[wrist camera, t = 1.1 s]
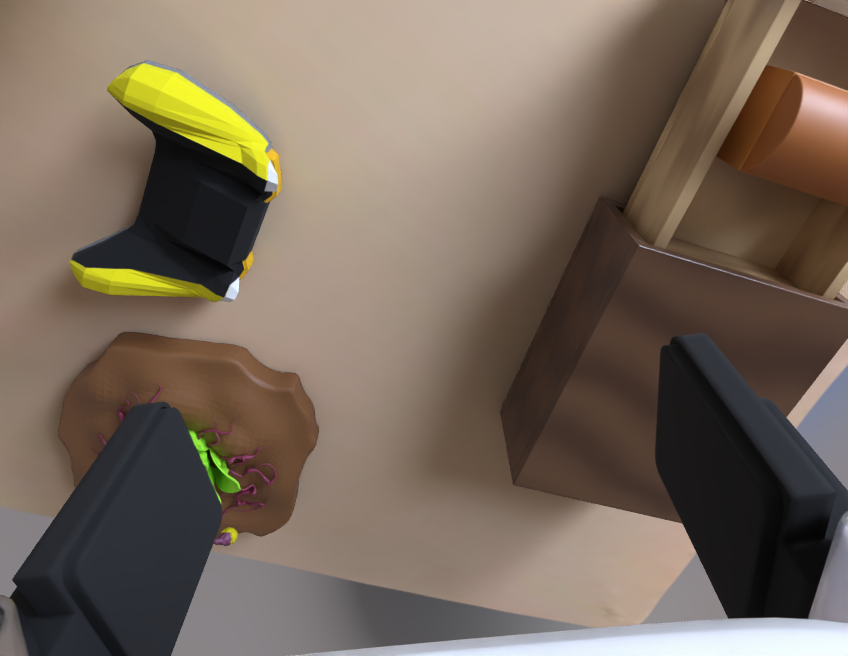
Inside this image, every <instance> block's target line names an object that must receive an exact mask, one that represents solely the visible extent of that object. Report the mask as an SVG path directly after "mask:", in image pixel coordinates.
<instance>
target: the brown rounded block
mask: <svg viewBox="0 0 848 656" xmlns="http://www.w3.org/2000/svg"><path fill="white" fill-rule="evenodd" d="M716 157H717V158H719V159H721V160H722V161H724V162H726V163H727V164H729V165H731V166H732V167H734V168H736V169H737V170H739V171H742V172H745V173H748V174H751V175H754V176H757V177H760V178H763V179H766V180H769V181H772V182H775V183H778V184H781V185H784V186H787V187H790V188H793V189H796V190H799V191H802V192H805V193H808V194H811V195H814V196H817V197H821V198H824V199H827V200H830V201H833V202H836V203H839V204H842V205H845V206H848V91H846V90H844V89H841V88H838V87H835V86H833V85H830V84H827V83H824V82H822V81H819V80H816V79H813V78H811V77H808V76H805V75H803V74H800V73H797V72H794V71H790V70H786V69H782V68H778V67H774V66H770V65H766V66H765V67H764V69H763V71H762V73H761V75H760V77H759V78H758V80H757V82H756V84H755V86H754V88H753V89H752V91H751V93H750V95H749V97H748V98H747V100H746V102H745V104H744V106H743V108H742V109H741V111H740V113H739V115H738V117H737V119H736V120H735V122H734V124H733V126H732V128H731V130H730V131H729V133H728V135H727V137H726V139H725V140H724V142H723V144H722V146H721V148H720V150H719V151H718V153H717V155H716Z"/></svg>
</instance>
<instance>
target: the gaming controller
mask: <svg viewBox="0 0 848 656" xmlns="http://www.w3.org/2000/svg"><path fill="white" fill-rule="evenodd" d="M107 91H108V92H109V93H110V94H111V95H112V96H113V97H114V98H115V99H116V100H117V101H118V102H119V103H120V104H121V105H122V106H123V107H124V108H125V109H126V110H127V111H128V112H129V113H130V114H131V115H132V116H134V117H135V118H136V119H137V120H139V121H140V122H141V123H143V124H144V125H145V126H146V127H148V128H149V129H150V130H152V132H153V135H154V137H155V140H156V148H155V154H154V158H153V161H152V165H151V169H150V173H149V177H148V180H147V184H146V188H145V192H144V196H143V199H142V203H141V207H140V211H139V214H138V216H137V219H136V221H135V223H134V224H132V225H130V226H128V227H126V228H124V229H122V230H120V231H118V232H116V233H114V234H112V235H110V236H108V237H106V238H103V239H101V240H99V241H97V242H94V243H92V244H90V245H87V246H85V247H83V248H81V249H79V250H77V251H76V252H75V253H74V254H73V256H72V259H71V261H70V265H71V269H72V272H73V274H74V276H75V277H76V278H77V280H78V281H79V283H80V284H81V286H82V287H85V288H88V289H92V290H95V291H98V292H102V293H105V294H109V295H144V296H178V297H203V298H205V299H208V300H210V301H212V302H218V301H225V302H231V301H233V300H235V298H236V296H237V294H238V292H239V280H241V279H242V278H243V277H244V275H245V274H246V273H247V271H248V270H249V268H250V267H251V265H252V263H253V261H254V257H253V253H252V248H253V245H254V243H255V240H256V237H257V235H258V232H259V229H260V227H261V224H262V221H263V219H264V216H265V213H266V211H267V208H268V205H269V203H270V200H272V199H273V198H275V197H276V196H277V195H278V193H279V192H280V190H281V187H282V177H281V169H280V161H279V155H278V154H277V153H276V152H275V151H274V149H273V148H272V146H271V141H270V140H269V138H268V137H267V136H266V135H265V133H264V132H263V131H262V130H261V129H260V128H258V127H257V126H256V125H255V124H254V123H253V122H252V121H251V120H249V119H248V118H247V117H246V116H245V115H244V114H243V113H242V112H241V111H239V110H238V109H237V108H236V107H235V106H234V105H233V104H231V103H230V102H228V101H227V100H225V99H224V98H222V97H221V96H219V95H218V94H216V93H215V92H213V91H212V90H210V89H209V88H207V87H206V86H204V85H203V84H201V83H200V82H198V81H197V80H195V79H194V78H192V77H191V76H189V75H188V74H186V73H185V72H183V71H182V70H179V69H175V68H172V67H169V66H165V65H162V64H159V63H156V62H152V61H149V60H147V61H144V62H141V63H138V64H136V65H133V66H130V67H128V68H127V69H126V70H125V71H124V72H123V73H122V74H120V75H119V76H118V77H117V78H115V79H114V80H113V81H112V82H111V83H110V85H109V86H108V87H107Z"/></svg>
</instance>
